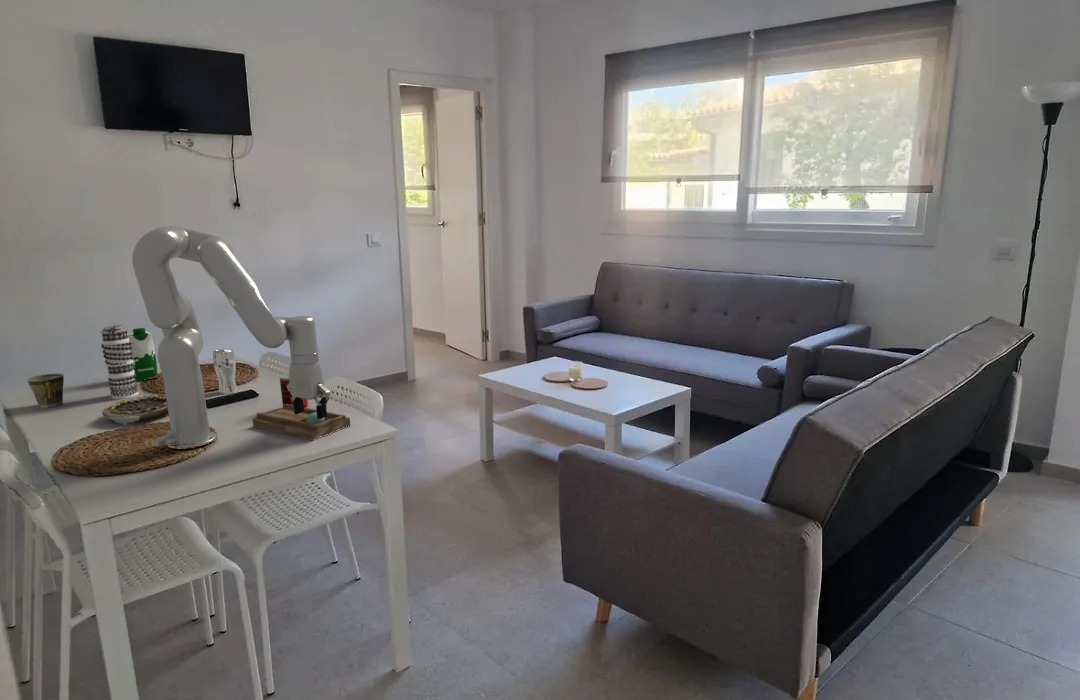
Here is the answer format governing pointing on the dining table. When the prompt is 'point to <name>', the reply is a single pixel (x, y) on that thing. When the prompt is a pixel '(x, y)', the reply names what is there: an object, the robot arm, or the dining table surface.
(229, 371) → the beer glass
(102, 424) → the dining table surface
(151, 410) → the pie
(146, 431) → the dining table surface
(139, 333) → the milk carton
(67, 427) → the dining table surface
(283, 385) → the canned food
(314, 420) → the ball
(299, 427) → the track board
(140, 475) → the dining table surface
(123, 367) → the decorative candle
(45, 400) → the ceramic cup
